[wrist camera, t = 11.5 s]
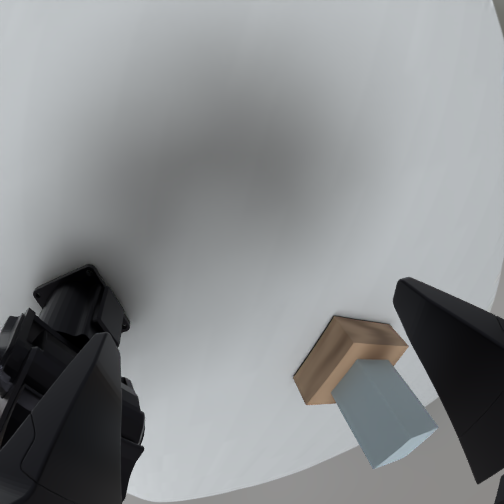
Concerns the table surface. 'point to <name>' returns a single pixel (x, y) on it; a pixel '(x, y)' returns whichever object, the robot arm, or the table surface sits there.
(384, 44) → the table surface
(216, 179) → the table surface
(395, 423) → the slate block
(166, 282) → the table surface
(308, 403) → the tan flat square block
